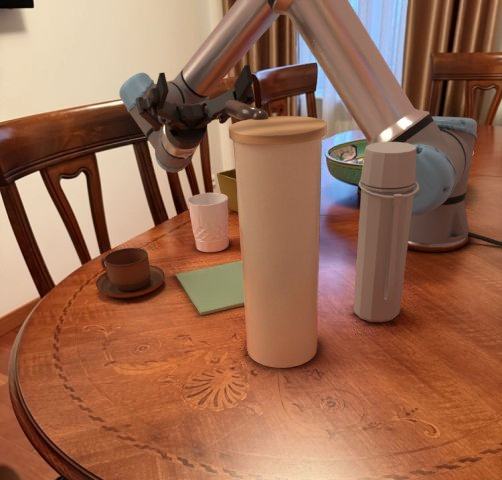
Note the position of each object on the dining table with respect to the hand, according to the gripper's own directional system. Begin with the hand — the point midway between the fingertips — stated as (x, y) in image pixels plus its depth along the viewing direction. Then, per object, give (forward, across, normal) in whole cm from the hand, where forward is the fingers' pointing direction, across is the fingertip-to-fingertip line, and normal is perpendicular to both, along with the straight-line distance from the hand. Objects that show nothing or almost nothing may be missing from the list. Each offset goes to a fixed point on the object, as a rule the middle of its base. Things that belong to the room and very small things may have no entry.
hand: (207, 77), depth 79 cm
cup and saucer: (-18, +17, -28) cm, 37 cm away
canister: (+8, +1, -42) cm, 43 cm away
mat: (-11, +1, -31) cm, 33 cm away
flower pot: (-44, -16, -13) cm, 48 cm away
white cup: (-28, -2, -22) cm, 35 cm away
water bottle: (+6, -16, -42) cm, 45 cm away
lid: (+18, +1, -14) cm, 23 cm away
